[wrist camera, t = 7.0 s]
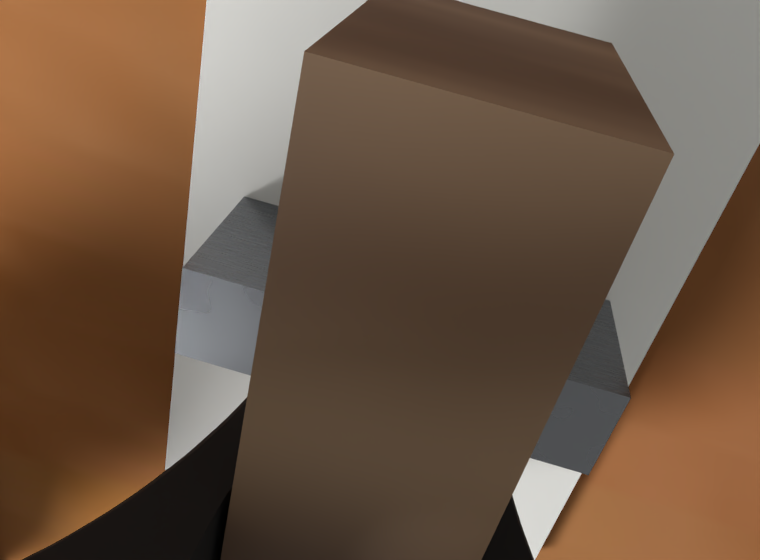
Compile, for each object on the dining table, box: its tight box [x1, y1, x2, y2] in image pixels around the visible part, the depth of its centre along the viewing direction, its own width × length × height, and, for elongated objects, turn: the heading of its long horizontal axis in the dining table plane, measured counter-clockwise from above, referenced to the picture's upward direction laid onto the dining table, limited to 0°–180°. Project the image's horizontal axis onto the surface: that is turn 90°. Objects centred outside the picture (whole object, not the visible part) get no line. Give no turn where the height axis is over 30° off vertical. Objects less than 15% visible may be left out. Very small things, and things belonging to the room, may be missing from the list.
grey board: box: [165, 0, 760, 560], centre depth 19 cm, size 20×13×1 cm, turn 167°
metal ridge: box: [175, 196, 631, 475], centre depth 17 cm, size 2×10×4 cm, turn 77°
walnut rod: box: [220, 0, 674, 560], centre depth 13 cm, size 16×4×5 cm, turn 167°
